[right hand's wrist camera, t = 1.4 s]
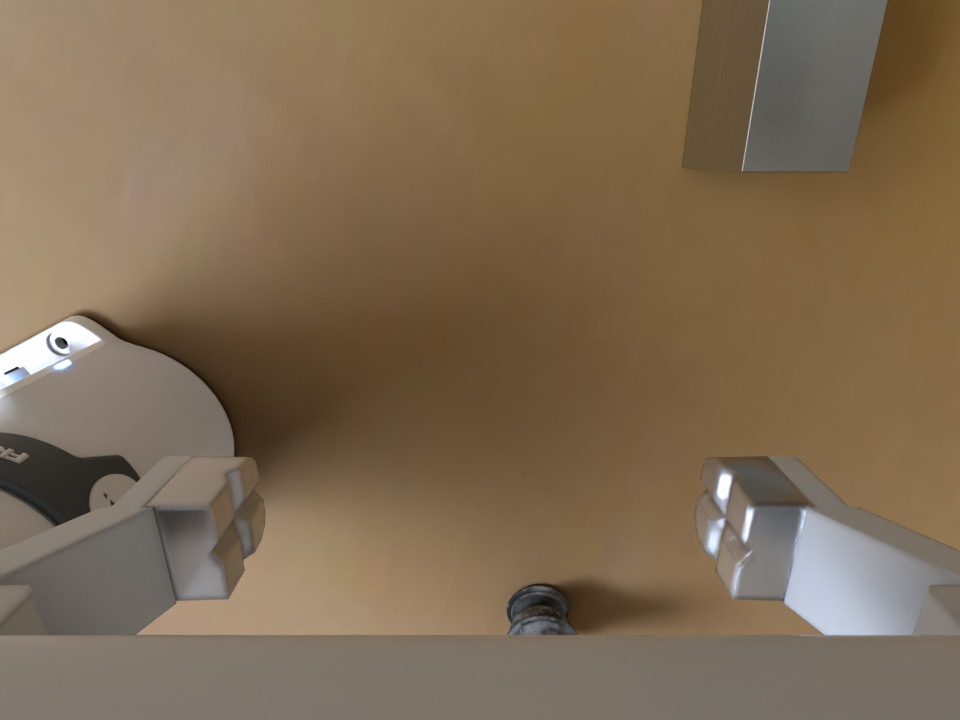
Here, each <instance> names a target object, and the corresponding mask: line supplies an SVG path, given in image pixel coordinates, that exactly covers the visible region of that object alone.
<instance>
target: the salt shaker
mask: <svg viewBox="0 0 960 720" xmlns="http://www.w3.org/2000/svg"><path fill="white" fill-rule="evenodd" d="M568 614H569V605H568V602H567V600H566V598H565V597H564V595H563V594H562V593H560V592H559V591H558V590H556V589H554V588H551V587H548V586H543V585H538V586H530V587H526V588H524V589H522V590H519V591H518V592H517V593H515V594H514V595H513V596H512V598H511V599H510V600H509V602H508V605H507V616H508V619H509V621H510V622H511V627H510V630H509V632H508V634H507V635H578V634H577V632H576V630H575V629H574V628H573V626H572V625H571V624H570V622H569V621H568V620H567V617H568Z"/></svg>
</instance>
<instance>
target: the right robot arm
mask: <svg viewBox="0 0 960 720" xmlns="http://www.w3.org/2000/svg"><path fill="white" fill-rule="evenodd" d="M62 338H64V339H65V340H66V341H67V343H68V345H67V344H65V343H64V342H63V340H62ZM259 479H260V476H259V472H258V467H257V462H256V461H255V460H254V459H253V458H252V457H234V437H233V432H232V428H231V425H230V422H229V419H228V417H227V415H226V412H225V411H224V409H223V407H222V405H221V403H220V402H219V400H218V399H217V397H216V396H215V395H214V393H213V392H212V391H211V390H210V388H209V387H208V386H207V385H206V384H205V383H204V382H203V381H202V380H201V379H200V378H199V377H198V376H196V375H195V374H194V373H193V372H192V371H190V370H189V369H188V368H186V367H185V366H183V365H182V364H180V363H179V362H177V361H175V360H174V359H172V358H170V357H168V356H166V355H164V354H161V353H159V352H157V351H154V350H151V349H148V348H144V347H141V346H138V345H134V344H131V343H128V342H126V341H123V340H121V339H119V338H118V337H116V336H115V335H113V334H112V333H111V332H109V331H108V330H106V329H105V328H104V327H102V326H101V325H99V324H98V323H96V322H94V321H93V320H91V319H89V318H87V317H84V316H79V315H76V316H71V317H69V318H67V319H65V320H63V321H61V322H59V323H57V324H56V325H54V326H52V327H50V328H48V329H46V330H44V331H43V332H41V333H39V334H37V335H35V336H33V337H31V338H30V339H28V340H26V341H24V342H22V343H20V344H18V345H17V346H15V347H13V348H11V349H9V350H7V351H6V352H4V353H2V354H0V720H960V551H959V550H957V549H955V548H952V547H950V546H948V545H945V544H943V543H941V542H938V541H936V540H934V539H932V538H929V537H927V536H925V535H922V534H920V533H918V532H915V531H913V530H911V529H908V528H906V527H904V526H901V525H899V524H897V523H894V522H892V521H890V520H887V519H885V518H883V517H880V516H878V515H876V514H873V513H871V512H869V511H866V510H864V509H862V508H859V507H849V506H847V505H846V504H845V503H844V502H843V501H842V500H841V499H840V498H839V497H838V496H837V495H836V494H835V493H834V492H833V491H832V490H831V489H830V488H829V487H828V486H826V485H825V484H824V483H823V482H822V481H821V480H820V479H819V478H818V477H817V476H816V475H815V474H814V473H813V472H812V471H811V470H810V469H809V468H808V467H807V466H806V465H804V464H803V463H802V462H801V461H800V460H799V459H798V458H796V457H793V456H790V455H787V456H756V457H716V458H706V460H705V462H704V464H703V466H702V471H701V476H700V479H701V481H702V482H703V484H704V485H705V487H706V488H707V489H706V490H705V491H704V493H703V494H702V495H701V496H700V497H699V498H698V499H697V500H696V508H695V525H696V532H697V536H698V539H699V542H700V544H701V546H702V547H703V549H704V551H705V552H706V553H707V554H709V555H710V556H712V557H713V558H715V559H716V560H717V563H716V568H715V571H716V573H717V574H718V576H719V578H720V580H721V581H722V583H723V585H724V587H725V588H726V590H727V592H728V594H729V595H730V597H731V599H740V600H777V601H784V604H786V605H787V606H788V607H789V608H791V609H792V610H793V611H795V612H796V613H797V614H799V615H800V616H801V617H802V618H804V619H805V620H806V621H808V622H809V623H810V624H812V625H813V626H814V627H815V628H817V629H818V630H819V631H821V632H822V633H823V634H824V635H136V634H137V633H138V632H140V631H141V630H142V629H143V628H145V627H146V626H147V625H149V624H150V623H151V622H153V621H154V620H155V619H156V618H158V617H159V616H160V615H162V614H163V613H164V612H166V611H167V610H168V609H169V608H171V607H172V606H173V605H175V604H176V601H183V600H218V599H229V597H230V595H231V594H232V592H233V590H234V588H235V587H236V585H237V583H238V581H239V580H240V578H241V576H242V574H243V573H244V571H245V568H244V563H243V560H244V559H245V558H247V557H248V556H250V555H251V554H253V553H254V552H255V551H256V549H257V547H258V546H259V544H260V542H261V539H262V535H263V531H264V527H265V507H264V500H263V499H262V498H261V497H260V496H259V495H258V494H257V493H256V491H255V490H254V489H253V488H254V487H255V485H256V484H257V482H258V481H259Z"/></svg>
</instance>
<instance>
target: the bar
mask: <svg viewBox="0 0 960 720" xmlns="http://www.w3.org/2000/svg"><path fill="white" fill-rule="evenodd" d="M887 2H888V0H703V5H702V13H701V21H700V29H699V37H698V45H697V53H696V61H695V69H694V77H693V85H692V93H691V101H690V109H689V117H688V125H687V133H686V141H685V149H684V157H683V165H682V167H684V168H696V169H709V170H721V171H733V172H849V169H850V165H851V161H852V156H853V152H854V147H855V143H856V139H857V134H858V130H859V125H860V121H861V117H862V112H863V108H864V103H865V99H866V95H867V90H868V86H869V81H870V77H871V73H872V68H873V64H874V59H875V55H876V51H877V46H878V42H879V37H880V33H881V29H882V24H883V20H884V15H885V11H886V7H887Z"/></svg>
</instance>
